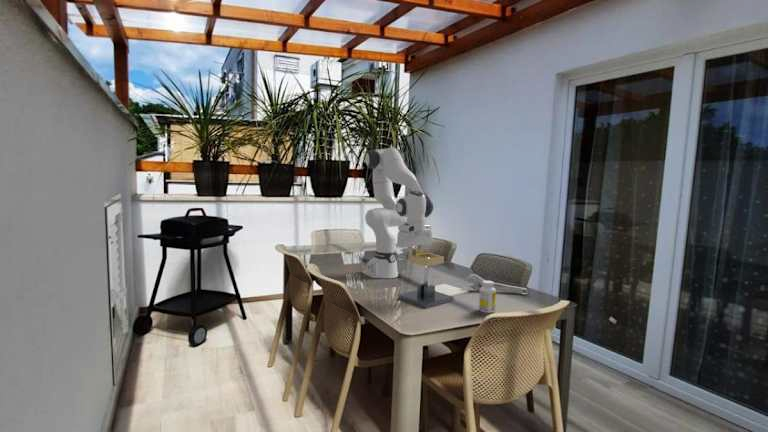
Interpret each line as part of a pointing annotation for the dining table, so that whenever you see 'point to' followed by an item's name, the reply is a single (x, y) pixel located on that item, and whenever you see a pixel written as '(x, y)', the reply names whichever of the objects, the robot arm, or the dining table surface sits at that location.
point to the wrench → (495, 285)
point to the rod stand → (426, 294)
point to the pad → (449, 290)
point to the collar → (420, 259)
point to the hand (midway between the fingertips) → (414, 254)
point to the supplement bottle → (487, 297)
